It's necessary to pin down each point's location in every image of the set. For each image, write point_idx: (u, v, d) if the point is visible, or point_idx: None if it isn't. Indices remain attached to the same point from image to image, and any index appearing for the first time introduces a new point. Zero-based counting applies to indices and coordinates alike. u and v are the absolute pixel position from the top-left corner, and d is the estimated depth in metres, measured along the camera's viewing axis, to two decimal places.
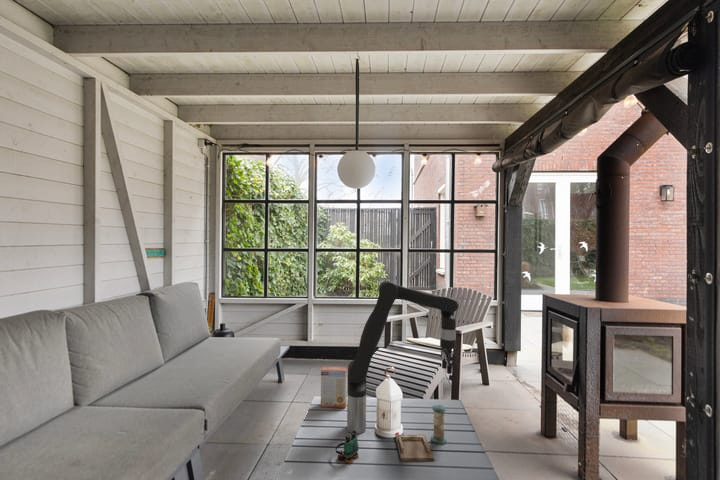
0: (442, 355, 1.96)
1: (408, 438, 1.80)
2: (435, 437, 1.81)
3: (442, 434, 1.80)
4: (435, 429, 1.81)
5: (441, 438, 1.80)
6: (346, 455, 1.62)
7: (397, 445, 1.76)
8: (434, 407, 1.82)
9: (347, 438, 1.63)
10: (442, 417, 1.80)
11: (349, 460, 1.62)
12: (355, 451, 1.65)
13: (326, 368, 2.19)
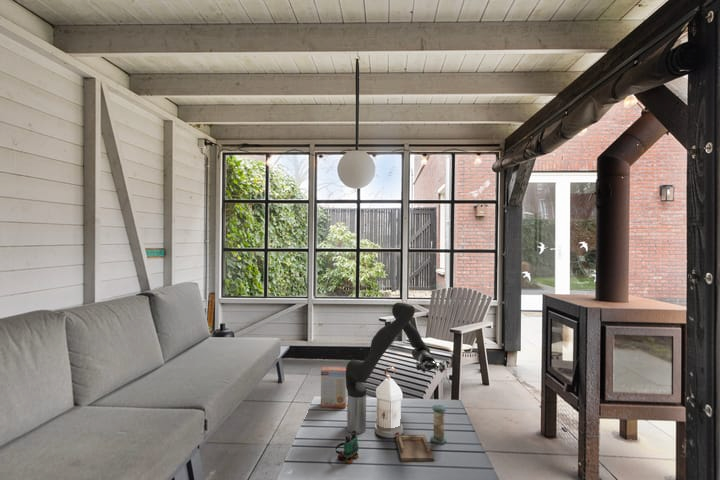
0: (425, 363, 2.02)
1: (408, 438, 1.80)
2: (435, 437, 1.81)
3: (442, 434, 1.80)
4: (435, 429, 1.81)
5: (441, 438, 1.80)
6: (346, 455, 1.62)
7: (397, 445, 1.76)
8: (434, 407, 1.82)
9: (347, 438, 1.63)
10: (442, 417, 1.80)
11: (349, 460, 1.62)
12: (355, 451, 1.65)
13: (326, 368, 2.19)
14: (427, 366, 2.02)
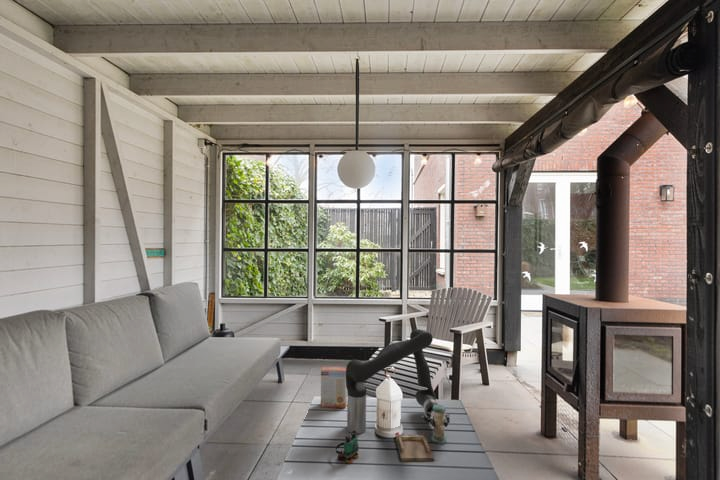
0: (433, 414, 1.87)
1: (408, 438, 1.80)
2: (435, 437, 1.81)
3: (442, 434, 1.80)
4: (435, 429, 1.81)
5: (441, 438, 1.80)
6: (346, 455, 1.62)
7: (397, 445, 1.76)
8: (434, 407, 1.82)
9: (347, 438, 1.63)
10: (442, 417, 1.80)
11: (349, 460, 1.62)
12: (355, 451, 1.65)
13: (326, 368, 2.19)
14: None
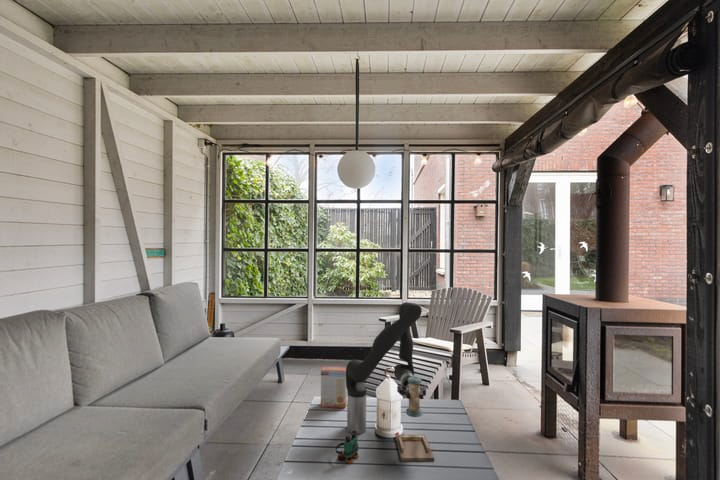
0: (408, 386, 1.80)
1: (408, 438, 1.80)
2: (410, 410, 1.73)
3: (417, 407, 1.73)
4: (410, 402, 1.74)
5: (416, 411, 1.73)
6: (346, 455, 1.62)
7: (397, 445, 1.76)
8: (409, 379, 1.75)
9: (347, 438, 1.63)
10: (417, 389, 1.73)
11: (349, 460, 1.62)
12: (355, 451, 1.65)
13: (326, 368, 2.19)
14: None
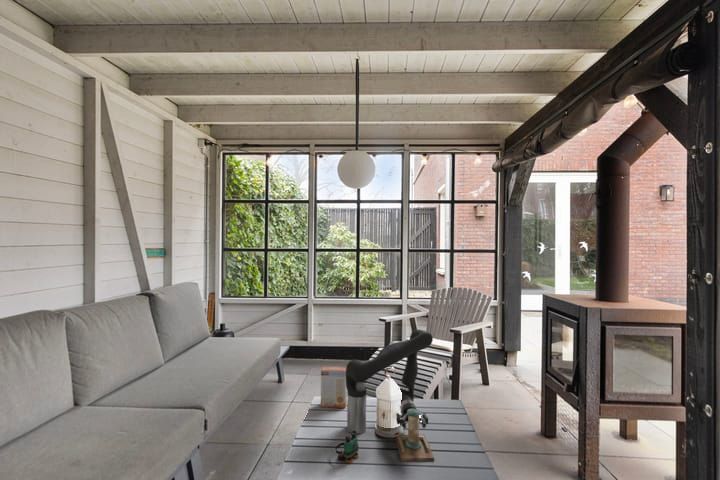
0: (406, 415, 1.80)
1: None
2: (409, 442, 1.73)
3: (417, 439, 1.73)
4: (409, 434, 1.73)
5: (415, 443, 1.73)
6: (346, 455, 1.62)
7: (397, 445, 1.76)
8: (409, 411, 1.75)
9: (347, 438, 1.63)
10: (417, 421, 1.73)
11: (349, 460, 1.62)
12: (355, 451, 1.65)
13: (326, 368, 2.19)
14: None
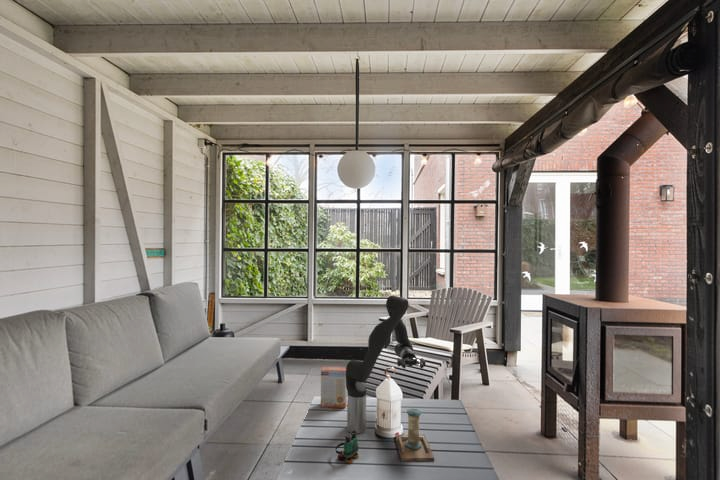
0: (406, 359, 2.02)
1: None
2: (409, 442, 1.73)
3: (417, 439, 1.73)
4: (409, 434, 1.73)
5: (415, 443, 1.73)
6: (346, 455, 1.62)
7: (397, 445, 1.76)
8: (409, 411, 1.75)
9: (347, 438, 1.63)
10: (417, 421, 1.73)
11: (349, 460, 1.62)
12: (355, 451, 1.65)
13: (326, 368, 2.19)
14: (408, 362, 2.01)
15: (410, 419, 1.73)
